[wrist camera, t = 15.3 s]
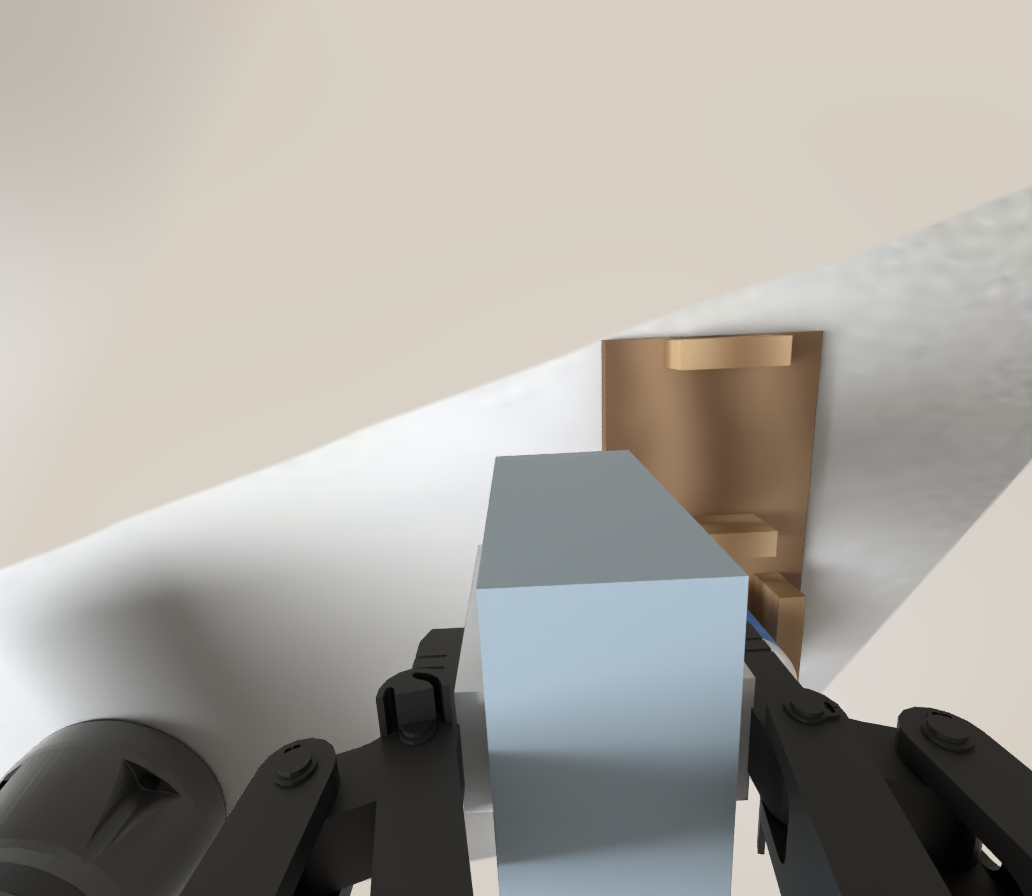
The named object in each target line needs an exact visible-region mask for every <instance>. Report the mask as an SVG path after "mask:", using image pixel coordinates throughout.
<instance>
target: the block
mask: <svg viewBox="0 0 1032 896" xmlns="http://www.w3.org/2000/svg"><path fill="white" fill-rule="evenodd" d="M748 582H749V576H748V575H747V573H746V572H745V571H744V570H743V569H742V568H741V567H740V566H739V565H738V564H737V563H736V562H735V561H734V560H733V559H732V558H731V557H730V556H729V555H728V554H727V553H726V552H725V550H724V549H723V548H722V547H721V546H720V545H719V544H718V543H717V542H716V541H715V540H714V539H713V538H712V537H711V536H710V535H709V534H708V533H707V532H706V531H705V530H704V528H703V527H702V526H701V525H700V524H699V523H698V522H697V521H696V520H695V519H694V518H693V517H692V516H691V515H690V514H689V513H688V512H687V511H686V510H685V509H684V508H683V506H682V505H681V504H680V503H679V502H678V501H677V500H676V499H675V498H674V497H673V496H672V495H671V494H670V493H669V492H668V491H667V490H666V489H665V488H664V487H663V486H662V484H661V483H660V482H659V481H658V480H657V479H656V478H655V477H654V476H653V475H652V474H651V473H650V472H649V471H648V470H647V469H646V468H645V467H644V466H643V465H642V464H641V462H640V461H639V460H638V459H637V458H636V457H635V456H634V455H633V454H632V453H631V452H630V451H629V450H618V451H598V452H579V453H559V454H540V455H520V456H501V457H496V459H495V465H494V472H493V479H492V486H491V492H490V499H489V506H488V512H487V519H486V526H485V532H484V539H483V546H482V553H481V559H480V566H479V573H478V579H477V586H476V595H477V608H478V621H479V634H480V647H481V660H482V673H483V686H484V699H485V712H486V725H487V738H488V751H489V764H490V777H491V790H492V803H493V816H494V829H495V842H496V855H497V868H498V881H499V893H500V896H731V879H732V861H733V843H734V825H735V809H736V791H737V774H738V756H739V739H740V722H741V704H742V687H743V669H744V652H745V634H746V617H747V599H748Z"/></svg>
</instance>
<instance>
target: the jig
mask: <svg viewBox="0 0 1032 896" xmlns="http://www.w3.org/2000/svg"><path fill="white" fill-rule="evenodd" d="M822 336H823V331H808V332H785V333H762V334H739V335H716V336H693V337H670V338H647V339H624V340H602V451H618V450H629V451H630V452H631V453H632V454H633V455H634V456H635V457H636V458H637V459H638V460H639V461H640V462H641V464H642V465H643V466H644V467H645V468H646V469H647V470H648V471H649V472H650V473H651V474H652V475H653V476H654V477H655V478H656V479H657V480H658V481H659V482H660V483H661V484H662V486H663V487H664V488H665V489H666V490H667V491H668V492H669V493H670V494H671V495H672V496H673V497H674V498H675V499H676V500H677V501H678V502H679V503H680V504H681V505H682V506H683V508H684V509H685V510H686V511H687V512H688V513H689V514H690V515H691V516H692V517H693V518H694V519H695V520H696V521H697V522H698V523H699V524H700V525H701V526H702V527H703V528H704V530H705V531H706V532H707V533H708V534H709V535H710V536H711V537H712V538H713V539H714V540H715V541H716V542H717V543H718V544H719V545H720V546H721V547H722V548H723V549H724V550H725V552H726V553H727V554H728V555H729V556H730V557H731V558H732V559H733V560H734V561H735V562H736V563H737V564H738V565H739V566H740V567H741V568H742V569H743V570H744V571H745V572H746V573H747V575H748V576H749V582H748V599H747V609H748V610H749V611H750V613H751V614H752V615H753V616H754V617H755V618H756V620H757V621H758V622H759V623H760V624H761V626H762V627H763V628H764V629H765V630H766V631H767V633H768V634H769V635H770V636H771V637H772V639H773V640H774V641H775V642H776V643H777V645H778V646H779V647H780V648H781V649H782V651H783V652H784V653H785V654H786V656H787V657H788V658H789V660H790V661H791V663H792V664H793V667H794V669H795V672H796V675H797V681H798V679H799V668H800V657H801V646H802V635H803V624H804V613H805V602H806V596H805V595H804V594H802V593H801V592H800V586H801V575H802V563H803V552H804V541H805V529H806V518H807V507H808V495H809V484H810V472H811V461H812V450H813V438H814V427H815V416H816V404H817V393H818V381H819V370H820V359H821V347H822Z"/></svg>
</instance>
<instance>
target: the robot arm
mask: <svg viewBox="0 0 1032 896" xmlns="http://www.w3.org/2000/svg"><path fill="white" fill-rule="evenodd" d="M482 546H483V545H478V550H477V556H476V562H475V568H474V575H473V581H472V587H471V593H470V599H469V605H468V611H467V617H466V623H465V628H448V629H432V630H431V631H430V632H429V633H428V634H427V635H426V636H425V637H424V638H423V639H422V640H421V641H420V644H419V647H418V650H417V654H416V659H415V660H414V664H413V667H412V669H410V670H407V671H404V672H400V673H398V674H396V675H395V676H393V677H391V678H390V679H388V680H387V681H386V682H385V683H384V684H383V685H382V686H381V687H380V688H379V691H378V694H377V696H376V704H377V711H378V719H379V727H380V734H381V737H380V738H378V739H376V740H375V741H373V742H371V743H370V744H367V745H365V746H362V747H360V748H356V749H353V750H350V751H347V752H343V753H340V754H337V755H336V753H335V751H334V748H333V746H332V745H331V744H329V743H328V742H327V741H325V740H322V739H315V738H309V739H303V740H297V741H295V742H293V743H290V744H288V745H286V746H283V747H282V748H280V749H279V750H277V751H276V752H275V753H273V754H272V755H270V756H269V757H268V758H267V759H266V761H265V762H264V763H263V764H262V765H261V766H260V768H259V769H258V770H257V772H256V774H255V775H254V777H253V778H252V780H251V782H250V783H249V785H248V786H247V788H246V790H245V791H244V793H243V794H242V796H241V797H240V799H239V801H238V802H237V804H236V805H235V807H234V809H233V810H232V812H231V813H230V815H229V817H228V818H227V820H226V821H225V805H224V800H223V796H222V793H221V790H220V788H219V786H218V783H217V782H216V780H215V778H214V776H213V775H212V773H211V772H210V770H209V769H208V768H207V766H206V765H205V764H204V763H203V762H202V761H201V760H200V759H199V758H198V757H197V756H196V755H195V754H194V753H193V752H192V751H191V750H190V749H188V748H187V747H186V746H184V745H183V744H181V743H180V742H178V741H177V740H175V739H173V738H172V737H170V736H168V735H166V734H164V733H161V732H159V731H157V730H154V729H151V728H149V727H145V726H142V725H138V724H134V723H128V722H122V721H91V722H84V723H79V724H75V725H72V726H69V727H66V728H63V729H61V730H59V731H57V732H55V733H53V734H51V735H49V736H48V737H47V738H45V739H44V740H42V741H41V742H40V743H39V744H38V745H36V746H35V747H34V748H33V749H32V750H31V751H30V752H28V753H27V754H26V755H25V756H24V757H23V758H22V759H21V760H19V761H18V762H17V763H16V764H15V765H14V766H13V767H12V768H11V769H10V770H9V771H8V772H7V773H6V774H5V775H4V777H3V778H2V779H1V780H0V896H350V893H351V890H352V887H353V884H356V883H359V882H361V881H364V880H366V879H369V878H371V877H372V878H371V894H370V896H473V889H472V881H471V872H470V863H469V855H468V846H467V838H466V830H465V821H464V813H463V800H464V806H465V813H485V812H493V803H492V790H491V777H490V764H489V751H488V738H487V725H486V712H485V699H484V686H483V673H482V660H481V647H480V634H479V621H478V608H477V595H476V586H477V579H478V573H479V566H480V559H481V553H482ZM749 775H750V777H751V779H752V781H753V783H754V785H755V786H756V788H757V790H758V792H759V794H760V808H759V823H758V838H757V847H758V854H764V850H765V841H766V844H767V847H768V850H769V854H770V857H771V861H772V865H773V868H774V872H775V875H776V879H777V882H778V886H779V889H780V893H781V896H1032V771H1031V770H1030V769H1029V768H1028V767H1026V766H1025V765H1024V764H1023V763H1022V762H1020V761H1019V760H1018V759H1017V758H1015V757H1014V756H1013V755H1012V754H1010V753H1009V752H1008V751H1007V750H1006V749H1004V748H1003V747H1002V746H1001V745H999V744H998V743H997V742H996V741H994V740H993V739H992V738H991V737H990V736H988V735H987V734H986V733H985V732H983V731H982V730H980V729H979V728H977V727H976V726H974V725H973V724H971V723H970V722H968V721H966V720H964V719H962V718H960V717H957V716H955V715H953V714H951V713H948V712H945V711H940V710H937V709H933V708H925V707H913V708H909V709H905V710H903V711H902V713H901V714H900V715H899V716H898V723H897V728H894V727H889V726H883V725H877V724H872V723H867V722H861V721H857V720H853V719H849V718H848V717H847V715H846V713H845V712H844V711H843V710H842V709H841V708H840V707H839V705H838V704H837V703H835V702H833V701H832V700H830V699H829V698H828V697H826V696H825V695H823V694H820V693H818V692H815V691H813V690H810V689H806V688H803V687H802V686H801V685H800V683H799V682H798V681H797V680H796V679H795V677H794V676H793V675H792V674H791V672H790V671H789V670H788V669H787V667H786V666H785V665H784V664H783V663H782V661H781V660H780V659H779V658H778V656H777V655H776V654H775V653H774V651H771V648H770V647H769V645H768V644H767V643H766V642H765V640H762V637H761V636H760V634H759V633H758V632H757V631H756V629H755V628H754V627H753V626H752V624H750V623H749V622H747V621H746V634H745V652H744V669H743V687H742V704H741V722H740V739H739V756H738V774H737V791H736V801H737V800H748V789H749V788H748V787H749ZM982 843H983V844H984V845H985V846H986V847H987V848H988V849H989V850H990V851H991V852H992V853H993V854H994V855H995V856H996V857H997V858H998V859H999V860H1000V861H1001V862H1002V865H1001V867H1000V866H998V865H997V864H996V863H994V862H993V861H992V860H991V859H990V858H989V857H988V856H987V855H986V854H985V853H984V852H983V851H982V850H981V849H982Z"/></svg>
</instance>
